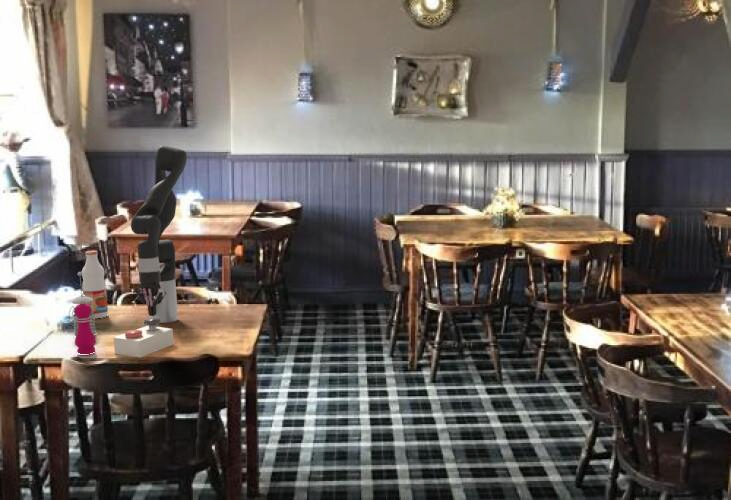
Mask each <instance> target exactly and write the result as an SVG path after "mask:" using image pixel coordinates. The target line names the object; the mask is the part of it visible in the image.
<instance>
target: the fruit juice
mask: <svg viewBox="0 0 731 500" xmlns="http://www.w3.org/2000/svg"><path fill="white" fill-rule="evenodd" d="M98 253H99V252H98V250H87V251H85V257H86V258H85V264H84V266H83V268H82V270H81V272H82V274H83V275H81V276H82V279H83V281H82V295H83V294H84V295H85V296H86V297H90V298H92V299H93V301H92V302H89V303H84V304H88V305H89V306H90V307H91V309H92V313H94V318H101V319H104V318H103V317H105V318H107V317H108V316H109V307H108V296H107V295H108V294H107V286H106V285H107V284H106V280H105V278H104V277H105V268H104V267H103V266H102V265H101V263H100V262H99V258H98ZM106 316H107V317H106Z"/></svg>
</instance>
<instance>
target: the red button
mask: <svg viewBox="0 0 731 500" xmlns="http://www.w3.org/2000/svg"><path fill="white" fill-rule="evenodd" d="M124 334H125V337H126V338H137V337H141V336H142V331H141V330H137V329H131V330H130V329H129V330H127V331H125V332H124Z"/></svg>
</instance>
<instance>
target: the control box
mask: <svg viewBox="0 0 731 500" xmlns="http://www.w3.org/2000/svg"><path fill="white" fill-rule="evenodd" d="M156 327H157V331H154V332H152V331H149V325H144V326H143V327H140V328H137V329H136V330H141V331H142V336H141V337H137V338H126V337H125V333H122V334H119V335H117V336H115V337H113V345H114V346H113V348H114V354H116V355H122V356H128V357H135V358H142V357H144V356H148V355H150V354H152V353H153V354H154V353H155V352H158V351H160V350H163V349H165V348H168V347H170V346H173V345H174V330H173V328H168V327H160V326H156Z"/></svg>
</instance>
